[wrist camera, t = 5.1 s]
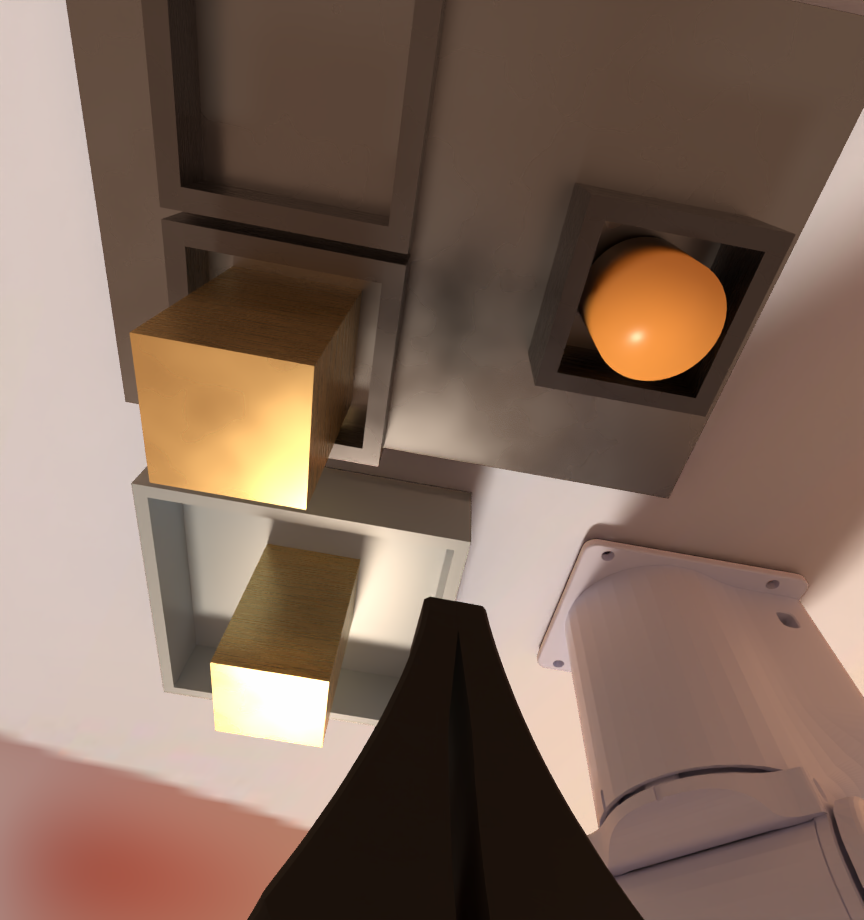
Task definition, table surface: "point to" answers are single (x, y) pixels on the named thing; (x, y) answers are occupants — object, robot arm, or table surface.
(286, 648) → the billet
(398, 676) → the tote
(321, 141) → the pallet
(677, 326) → the button
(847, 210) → the table surface
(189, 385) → the billet
